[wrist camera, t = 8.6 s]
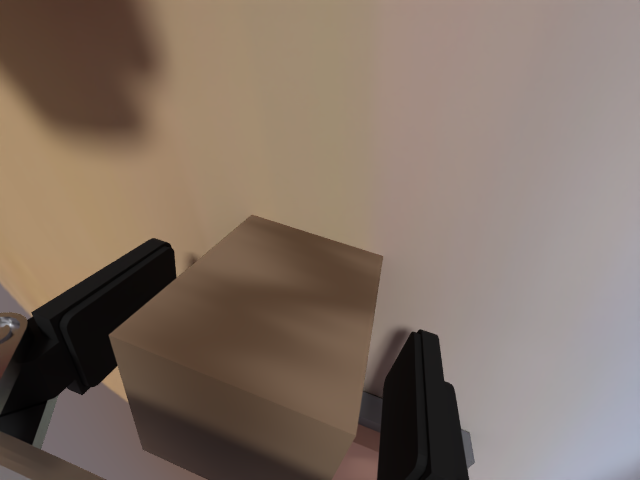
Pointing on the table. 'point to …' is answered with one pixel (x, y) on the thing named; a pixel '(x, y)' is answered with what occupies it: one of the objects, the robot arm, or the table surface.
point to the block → (254, 356)
